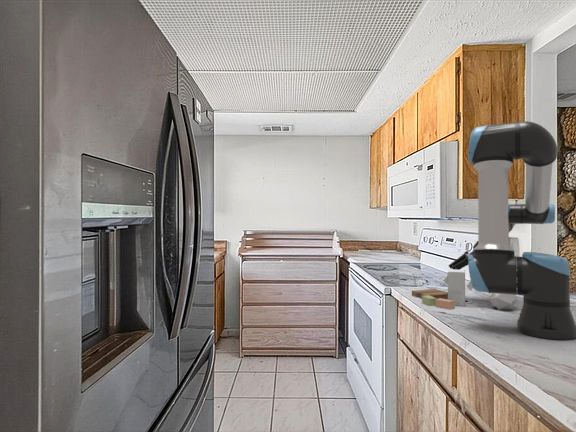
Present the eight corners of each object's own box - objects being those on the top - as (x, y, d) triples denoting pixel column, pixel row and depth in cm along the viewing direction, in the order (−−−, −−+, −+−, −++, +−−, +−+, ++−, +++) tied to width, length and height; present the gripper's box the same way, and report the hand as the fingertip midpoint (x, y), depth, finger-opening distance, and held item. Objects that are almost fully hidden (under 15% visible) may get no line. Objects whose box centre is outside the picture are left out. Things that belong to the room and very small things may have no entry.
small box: (465, 306, 154) (465, 272, 154) (447, 305, 157) (447, 271, 157) (465, 302, 162) (464, 269, 162) (448, 300, 164) (447, 268, 164)
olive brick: (436, 306, 156) (436, 298, 156) (429, 306, 156) (429, 298, 156) (429, 302, 162) (428, 295, 162) (422, 303, 162) (421, 295, 162)
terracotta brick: (454, 308, 152) (454, 300, 152) (450, 310, 150) (450, 301, 150) (440, 306, 156) (440, 298, 156) (435, 307, 155) (435, 299, 155)
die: (516, 314, 144) (524, 291, 147) (493, 301, 145) (502, 279, 148) (504, 317, 151) (512, 294, 154) (482, 305, 153) (491, 283, 156)
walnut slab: (453, 298, 168) (453, 293, 168) (428, 300, 165) (428, 295, 165) (435, 293, 180) (435, 288, 180) (411, 295, 176) (411, 290, 176)
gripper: (517, 254, 153) (485, 297, 149) (470, 249, 177) (441, 286, 173) (505, 241, 151) (473, 283, 147) (459, 237, 175) (430, 274, 171)
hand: (456, 285), depth 160 cm, fingers open, 13 cm apart
